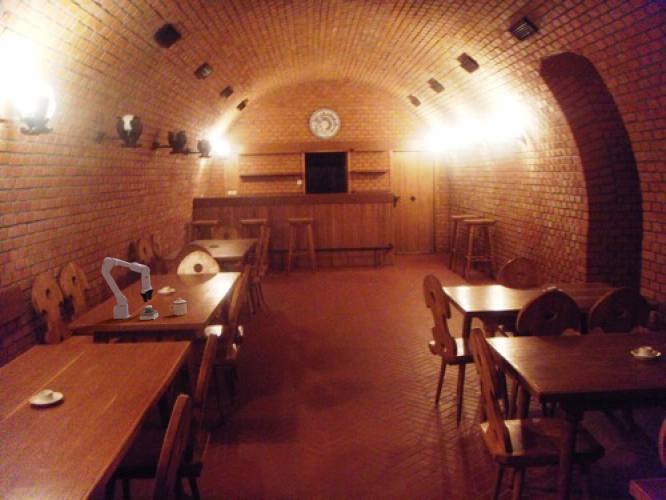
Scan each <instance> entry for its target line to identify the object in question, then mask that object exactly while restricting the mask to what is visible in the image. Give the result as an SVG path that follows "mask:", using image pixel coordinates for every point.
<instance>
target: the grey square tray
mask: <svg viewBox="0 0 666 500" xmlns="http://www.w3.org/2000/svg"><path fill="white" fill-rule="evenodd" d="M152 310H153V312H152V313H145V310H143V311H142V312H140V313H139V314H140V316H139V320H140V321H141V320H143V321H145V320H146V321H147V320H151V319H154V320H156V319H157V318H158V317H159V312H158V309H152Z"/></svg>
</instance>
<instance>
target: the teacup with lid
mask: <svg viewBox="0 0 666 500" xmlns="http://www.w3.org/2000/svg"><path fill="white" fill-rule="evenodd" d="M172 306H173V309H172V308H171V307H172ZM168 308H169V310H170V311H171V312H173V313H174V316H184V315H187V314H188V311H187V309H188V308H187V300H184V299H182V298H181V297H177V299H176V300H175V301H173V302H172V304H170V305H169V307H168Z"/></svg>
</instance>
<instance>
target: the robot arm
mask: <svg viewBox="0 0 666 500" xmlns="http://www.w3.org/2000/svg"><path fill="white" fill-rule="evenodd" d="M114 266H115V267H116V266H122V267H125V268H129V269H130V271H133V272H137V273H140V274H141V287H142V288H141V291H140V296H141V297H142V299H143V303H148V301H151V300H152V297H153V293H154V289H153V285H151V276H150V272H151V269H150V267H148V266H147V265H146V264H143V263H142V264H140V263H138V262H137V261H134V262H127V261H124V260H122V259H119V258H114V257H109V256H106V257H104V259H103V260H102V263H101V275H102V276H103V277H104V278H103V279H105V281H106V282H107V284H108V286H109V288H110V290H111V292H113V295H114V296H115V298H116V302H117V304H116V305H114V306H113V309H112V310H113V319H114V320H115V319H116V320H117V319H118V320H119V319H123V320H124V319H128V318H130V317H131V316H132V315H131V314H129V306H128V298H127V297H126V296H125V295H124V294H123V293H122V291H121V290H120V289H119V287H118V285H117V283H116V282H115V280H114V277H113V276H112V275H111V273H110V271H111V270H112V268H113V267H114Z"/></svg>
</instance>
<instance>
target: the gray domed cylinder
mask: <svg viewBox="0 0 666 500" xmlns="http://www.w3.org/2000/svg"><path fill="white" fill-rule="evenodd" d="M153 310H154V309H153V305H150V304H149V305H145V306H144V311H145V313H152V312H153Z"/></svg>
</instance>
